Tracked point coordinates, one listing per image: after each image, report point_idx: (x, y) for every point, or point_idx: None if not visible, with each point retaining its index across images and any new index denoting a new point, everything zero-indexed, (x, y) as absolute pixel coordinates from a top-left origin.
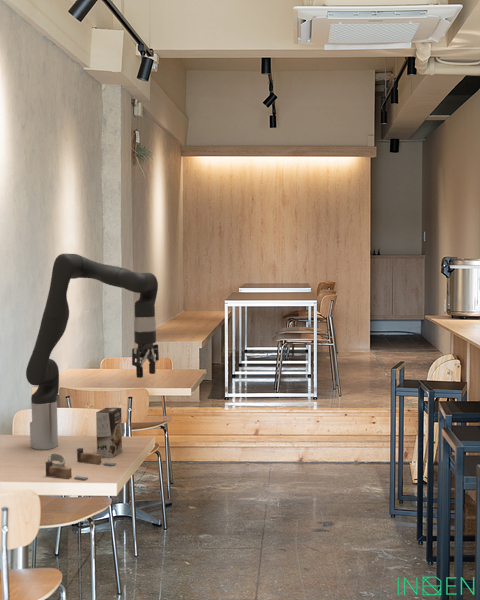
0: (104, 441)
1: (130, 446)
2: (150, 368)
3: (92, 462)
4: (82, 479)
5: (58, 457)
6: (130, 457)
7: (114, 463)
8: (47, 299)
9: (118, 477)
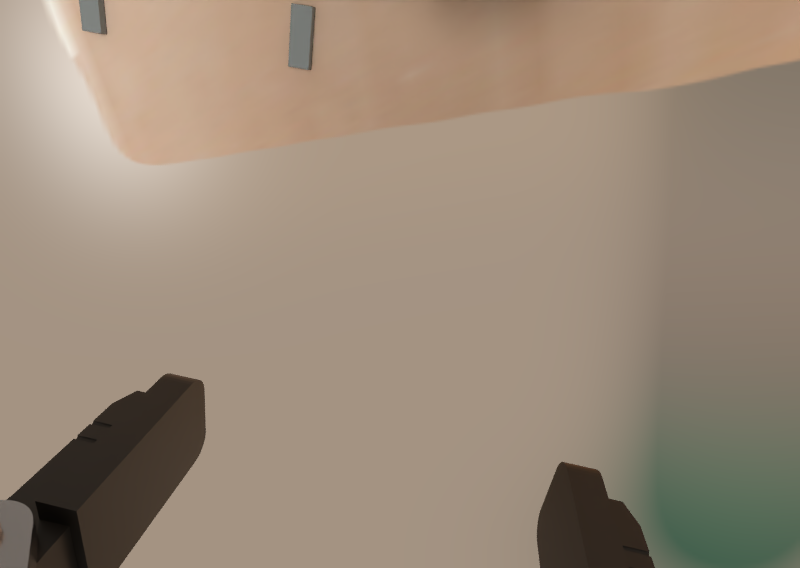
0: None
1: None
2: (572, 555)
3: None
4: (84, 17)
5: None
6: (442, 87)
7: (305, 63)
8: None
9: (174, 155)
